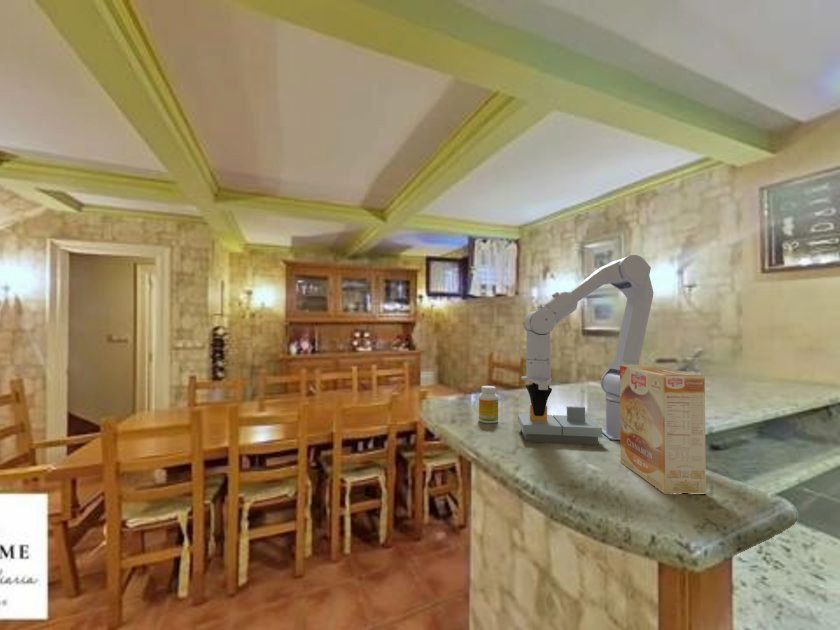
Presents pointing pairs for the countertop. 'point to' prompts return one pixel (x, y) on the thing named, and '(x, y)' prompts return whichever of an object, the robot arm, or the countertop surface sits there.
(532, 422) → the tabbed lid segment
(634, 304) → the robot arm
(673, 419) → the coffeecake box
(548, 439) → the parts tub
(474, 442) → the countertop surface
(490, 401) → the supplement bottle
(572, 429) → the lid segment
